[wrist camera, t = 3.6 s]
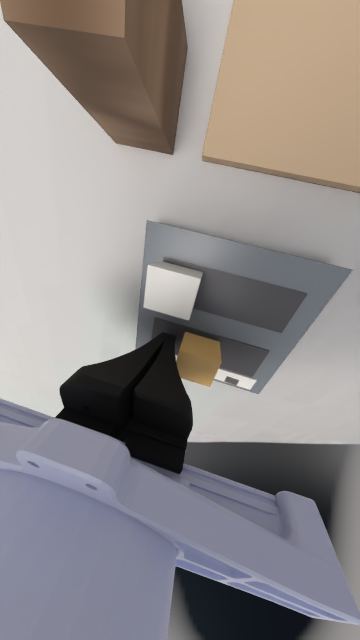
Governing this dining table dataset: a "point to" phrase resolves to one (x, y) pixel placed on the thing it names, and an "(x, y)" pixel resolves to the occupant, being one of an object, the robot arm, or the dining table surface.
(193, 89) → the dining table surface
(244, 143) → the mat
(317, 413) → the dining table surface
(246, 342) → the switch panel
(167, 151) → the block
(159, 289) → the switch tab
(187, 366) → the switch tab
